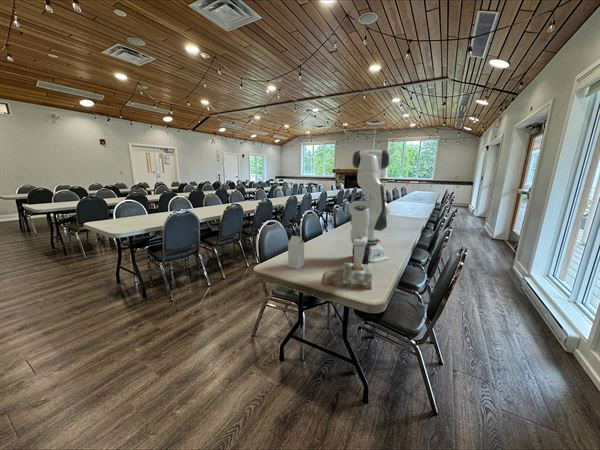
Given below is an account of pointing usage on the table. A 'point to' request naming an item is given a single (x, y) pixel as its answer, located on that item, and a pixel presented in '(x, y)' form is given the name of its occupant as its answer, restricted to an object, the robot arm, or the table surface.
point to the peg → (356, 265)
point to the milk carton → (296, 252)
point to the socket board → (339, 280)
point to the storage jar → (366, 254)
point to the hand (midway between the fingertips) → (357, 263)
